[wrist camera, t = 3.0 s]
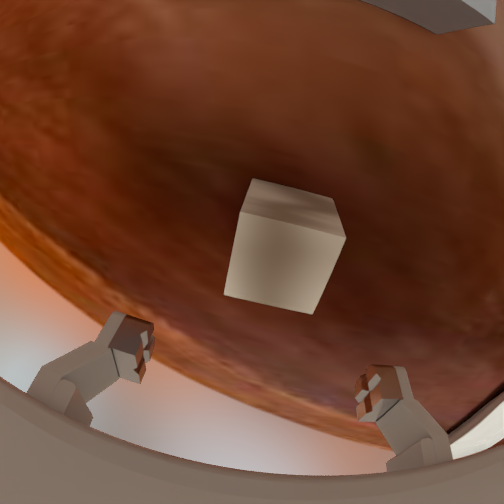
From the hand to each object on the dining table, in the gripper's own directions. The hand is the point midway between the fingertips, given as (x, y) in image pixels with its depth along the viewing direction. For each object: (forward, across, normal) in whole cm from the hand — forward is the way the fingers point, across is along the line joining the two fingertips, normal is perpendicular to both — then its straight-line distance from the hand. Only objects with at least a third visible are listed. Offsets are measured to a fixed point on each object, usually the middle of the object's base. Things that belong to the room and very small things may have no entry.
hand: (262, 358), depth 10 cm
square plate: (+10, -52, +27) cm, 60 cm away
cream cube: (+10, 0, 0) cm, 10 cm away
